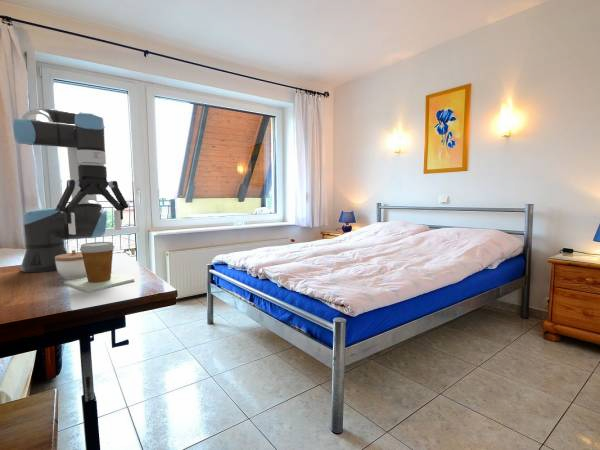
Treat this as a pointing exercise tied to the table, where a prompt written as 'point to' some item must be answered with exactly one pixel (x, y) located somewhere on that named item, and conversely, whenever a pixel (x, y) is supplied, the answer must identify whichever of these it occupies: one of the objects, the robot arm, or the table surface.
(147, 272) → the table surface
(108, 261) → the disposable coffee cup
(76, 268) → the lidded jar
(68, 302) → the table surface
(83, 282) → the sage board
